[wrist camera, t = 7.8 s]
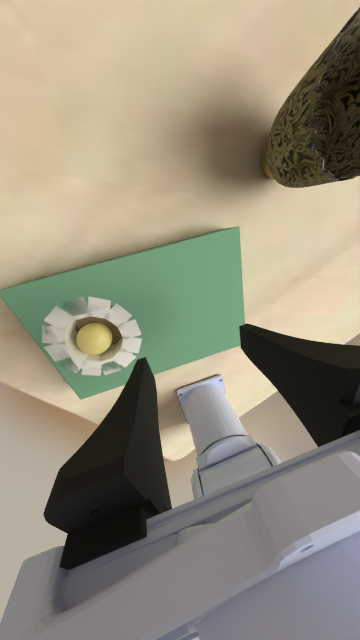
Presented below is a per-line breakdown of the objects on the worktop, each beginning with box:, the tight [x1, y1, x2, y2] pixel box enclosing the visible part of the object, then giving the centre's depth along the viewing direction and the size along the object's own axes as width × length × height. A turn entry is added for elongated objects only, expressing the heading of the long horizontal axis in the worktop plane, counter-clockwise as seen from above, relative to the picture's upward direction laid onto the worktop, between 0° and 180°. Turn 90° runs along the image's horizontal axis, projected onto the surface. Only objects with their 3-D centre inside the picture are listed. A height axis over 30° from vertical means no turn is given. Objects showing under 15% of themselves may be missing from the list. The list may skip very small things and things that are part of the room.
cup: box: [262, 8, 360, 188], centre depth 13 cm, size 8×7×8 cm
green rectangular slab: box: [0, 226, 245, 399], centre depth 19 cm, size 14×22×3 cm, turn 103°
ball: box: [76, 323, 112, 355], centre depth 19 cm, size 4×4×4 cm
